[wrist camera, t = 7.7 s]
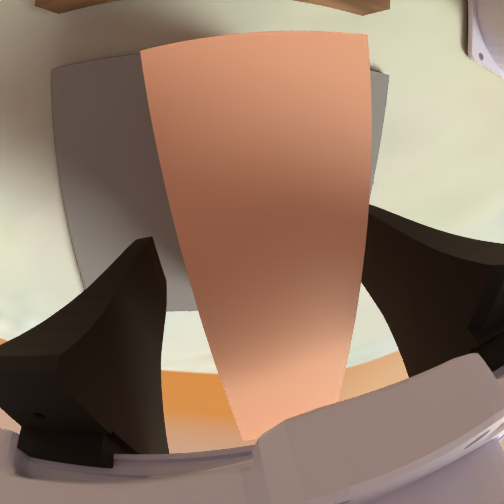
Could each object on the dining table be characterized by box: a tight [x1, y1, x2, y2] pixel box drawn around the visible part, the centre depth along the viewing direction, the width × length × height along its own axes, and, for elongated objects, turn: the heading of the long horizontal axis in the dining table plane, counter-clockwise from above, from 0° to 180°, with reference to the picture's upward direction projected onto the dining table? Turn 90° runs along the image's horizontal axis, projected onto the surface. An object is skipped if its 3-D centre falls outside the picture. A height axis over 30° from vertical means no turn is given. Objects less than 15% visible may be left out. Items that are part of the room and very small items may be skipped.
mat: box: [51, 54, 389, 311], centre depth 15 cm, size 16×14×1 cm
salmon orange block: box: [140, 31, 372, 441], centre depth 11 cm, size 4×12×9 cm, turn 6°
